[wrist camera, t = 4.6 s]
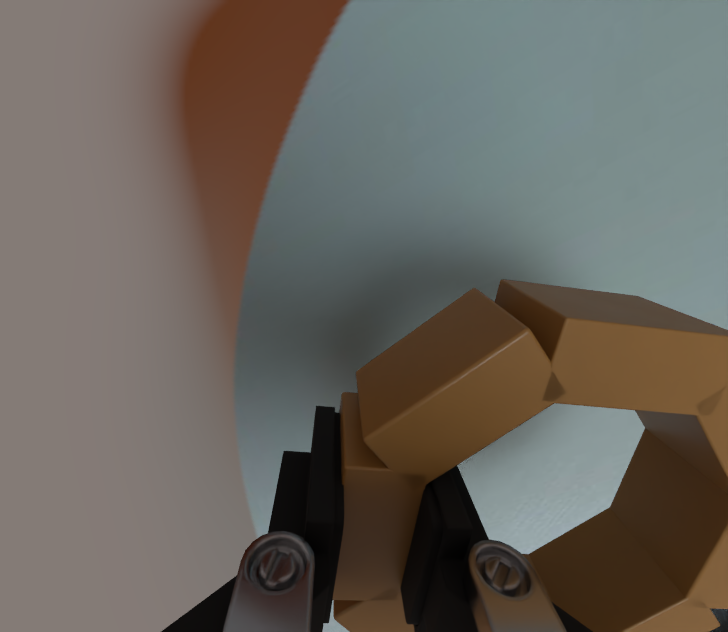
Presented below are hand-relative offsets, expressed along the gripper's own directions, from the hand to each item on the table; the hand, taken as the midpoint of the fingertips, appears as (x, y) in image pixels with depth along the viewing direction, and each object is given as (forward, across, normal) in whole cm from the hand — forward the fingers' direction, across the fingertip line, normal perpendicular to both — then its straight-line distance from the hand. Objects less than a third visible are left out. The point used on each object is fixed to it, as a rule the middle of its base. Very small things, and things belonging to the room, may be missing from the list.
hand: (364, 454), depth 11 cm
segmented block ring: (0, -5, 0) cm, 5 cm away
